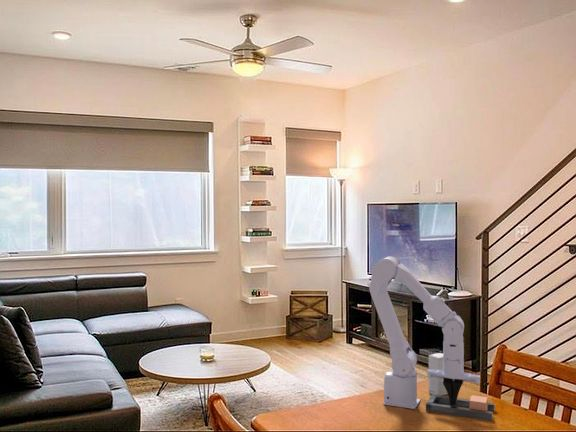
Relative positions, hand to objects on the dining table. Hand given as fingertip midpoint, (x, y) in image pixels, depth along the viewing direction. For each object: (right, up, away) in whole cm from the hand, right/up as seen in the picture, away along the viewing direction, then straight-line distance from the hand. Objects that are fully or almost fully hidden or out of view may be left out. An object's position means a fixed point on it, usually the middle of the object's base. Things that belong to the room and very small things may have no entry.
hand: (453, 404), depth 159 cm
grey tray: (+2, -1, -1) cm, 2 cm away
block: (+6, -1, -3) cm, 7 cm away
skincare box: (0, -2, +14) cm, 14 cm away
